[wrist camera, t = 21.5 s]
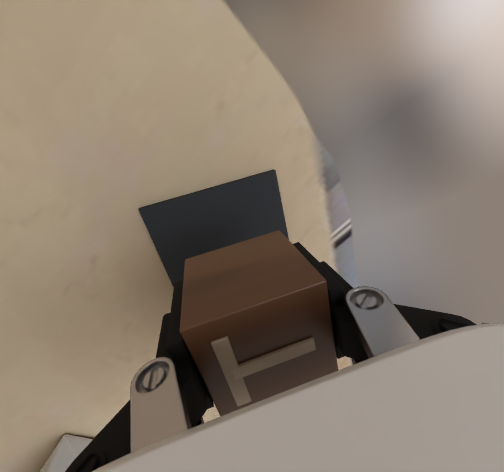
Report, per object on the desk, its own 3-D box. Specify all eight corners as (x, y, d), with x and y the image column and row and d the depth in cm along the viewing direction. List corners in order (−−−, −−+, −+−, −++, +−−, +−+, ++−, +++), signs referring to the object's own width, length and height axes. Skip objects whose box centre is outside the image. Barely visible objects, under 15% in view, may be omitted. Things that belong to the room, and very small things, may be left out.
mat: (312, 366, 27) (313, 369, 27) (225, 400, 26) (226, 404, 26) (273, 169, 18) (275, 169, 18) (139, 207, 17) (138, 209, 17)
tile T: (294, 304, 13) (341, 380, 9) (214, 332, 13) (224, 427, 8) (279, 229, 11) (329, 281, 7) (184, 259, 11) (178, 333, 7)
